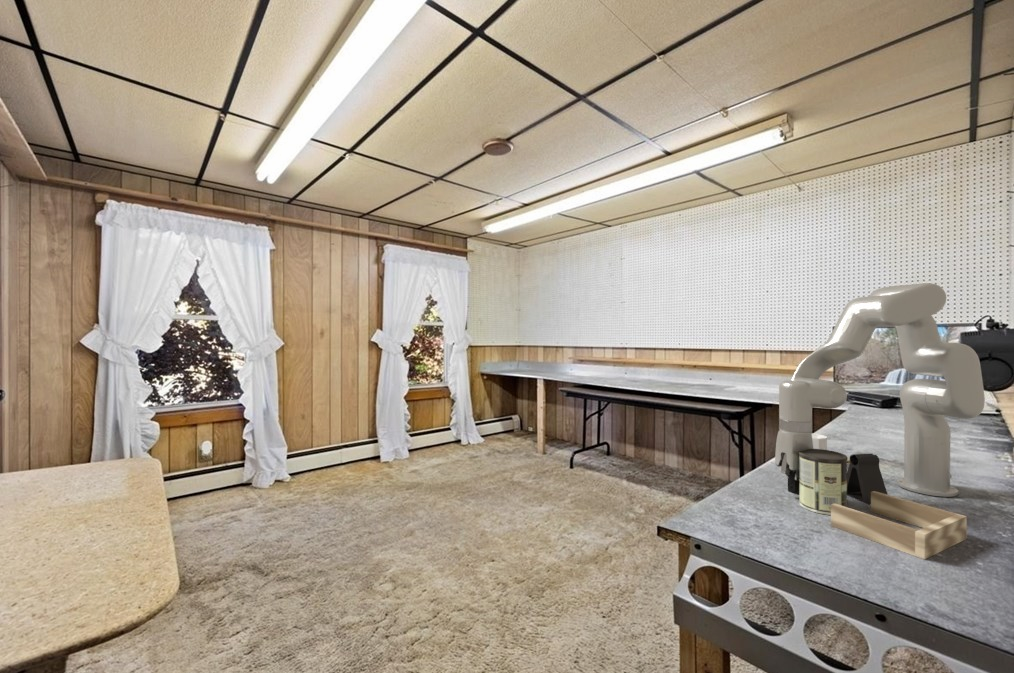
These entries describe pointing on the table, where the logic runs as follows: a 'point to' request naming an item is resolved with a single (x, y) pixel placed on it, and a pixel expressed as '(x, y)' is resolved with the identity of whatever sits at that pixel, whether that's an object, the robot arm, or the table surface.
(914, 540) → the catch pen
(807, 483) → the coffee can
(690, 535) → the table surface
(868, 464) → the phone stand
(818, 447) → the mug
